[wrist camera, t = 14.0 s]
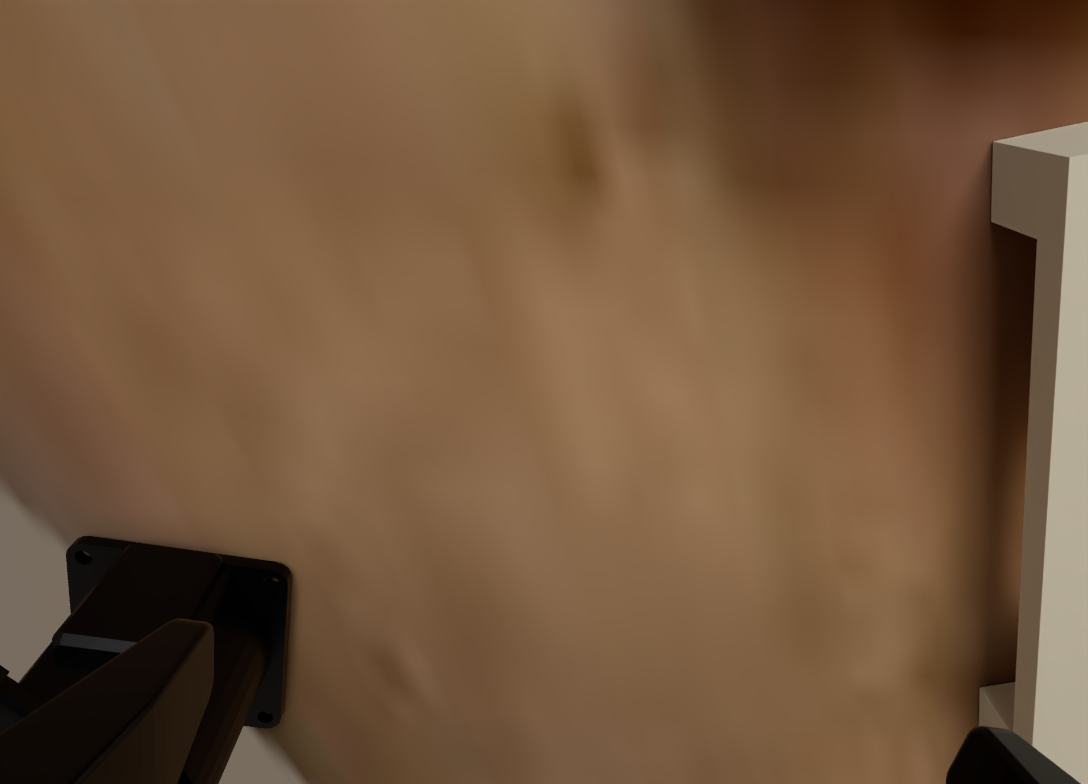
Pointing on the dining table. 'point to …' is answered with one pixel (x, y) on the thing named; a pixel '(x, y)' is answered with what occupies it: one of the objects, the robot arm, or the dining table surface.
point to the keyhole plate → (1051, 449)
